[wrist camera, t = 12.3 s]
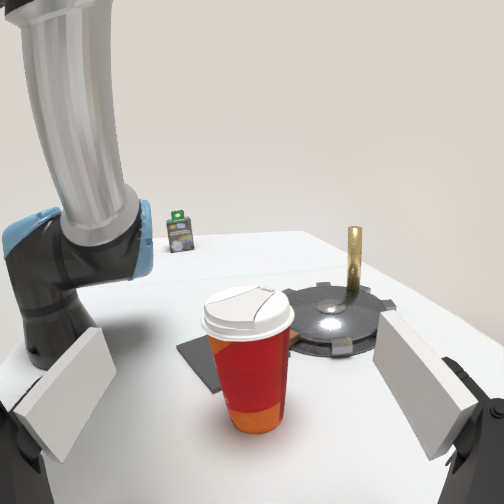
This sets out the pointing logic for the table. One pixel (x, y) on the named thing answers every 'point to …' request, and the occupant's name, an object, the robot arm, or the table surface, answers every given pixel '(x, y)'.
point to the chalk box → (180, 232)
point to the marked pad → (202, 361)
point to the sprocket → (337, 307)
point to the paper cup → (250, 353)
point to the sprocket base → (326, 350)
